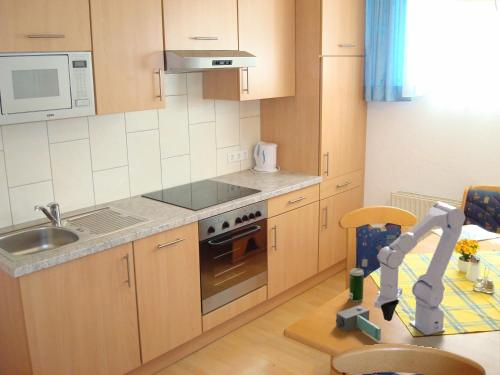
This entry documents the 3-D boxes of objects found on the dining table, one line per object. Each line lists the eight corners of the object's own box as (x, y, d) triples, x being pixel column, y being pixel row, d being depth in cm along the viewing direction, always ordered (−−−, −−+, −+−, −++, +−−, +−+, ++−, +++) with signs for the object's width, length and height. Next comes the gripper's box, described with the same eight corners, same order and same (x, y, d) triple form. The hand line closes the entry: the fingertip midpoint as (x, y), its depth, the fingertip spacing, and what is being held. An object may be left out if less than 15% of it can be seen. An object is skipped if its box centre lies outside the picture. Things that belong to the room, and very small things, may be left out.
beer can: (355, 303, 208) (356, 274, 205) (346, 298, 212) (346, 270, 210) (366, 299, 211) (366, 271, 208) (356, 295, 215) (356, 266, 212)
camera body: (343, 332, 187) (343, 317, 185) (334, 326, 191) (334, 312, 190) (369, 322, 193) (369, 308, 192) (359, 317, 197) (359, 303, 196)
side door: (355, 326, 189) (355, 315, 188) (358, 325, 190) (358, 314, 189) (377, 341, 179) (378, 329, 178) (380, 340, 180) (381, 328, 179)
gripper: (389, 272, 188) (388, 308, 191) (366, 286, 178) (365, 323, 181) (408, 278, 183) (406, 314, 186) (385, 292, 173) (384, 330, 176)
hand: (387, 319), depth 183 cm, fingers closed
